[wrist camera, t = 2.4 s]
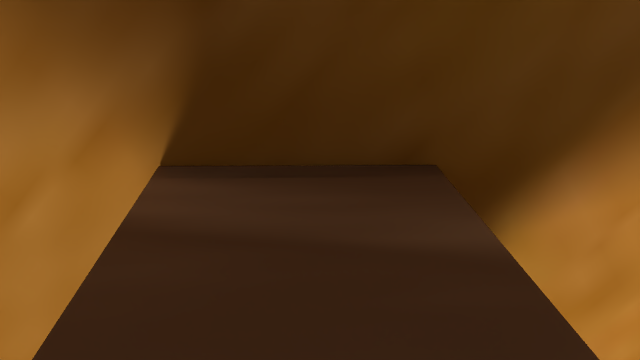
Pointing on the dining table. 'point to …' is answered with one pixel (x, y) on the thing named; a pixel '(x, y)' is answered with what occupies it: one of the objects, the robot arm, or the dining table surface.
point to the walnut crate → (307, 273)
